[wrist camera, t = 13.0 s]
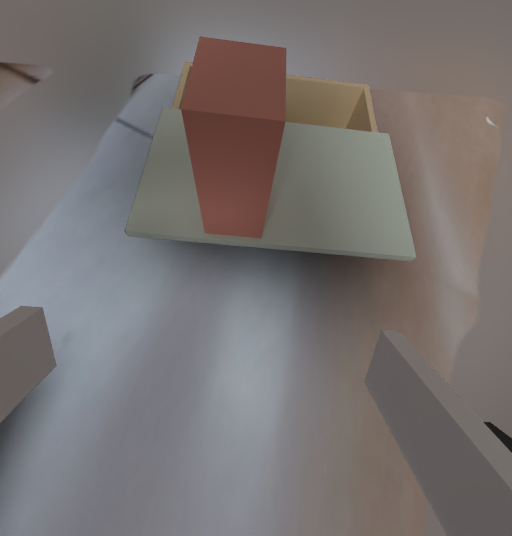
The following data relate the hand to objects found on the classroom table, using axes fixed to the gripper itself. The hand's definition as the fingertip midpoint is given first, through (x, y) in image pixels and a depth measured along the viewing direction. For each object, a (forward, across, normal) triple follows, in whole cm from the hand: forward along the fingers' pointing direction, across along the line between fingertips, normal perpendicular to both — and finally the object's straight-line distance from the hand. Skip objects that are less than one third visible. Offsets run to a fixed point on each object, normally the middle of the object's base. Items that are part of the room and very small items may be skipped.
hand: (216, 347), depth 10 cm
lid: (+14, +3, +6) cm, 15 cm away
